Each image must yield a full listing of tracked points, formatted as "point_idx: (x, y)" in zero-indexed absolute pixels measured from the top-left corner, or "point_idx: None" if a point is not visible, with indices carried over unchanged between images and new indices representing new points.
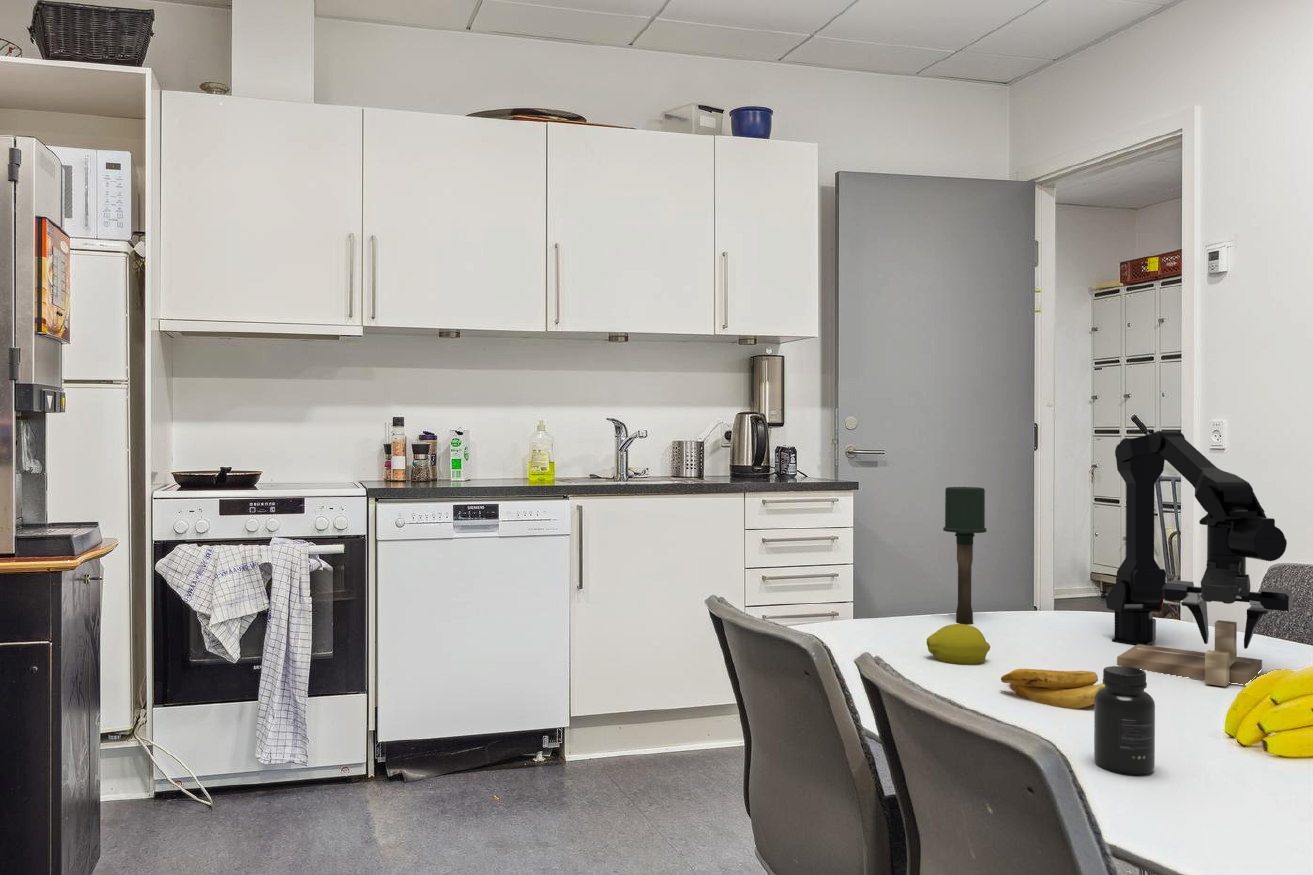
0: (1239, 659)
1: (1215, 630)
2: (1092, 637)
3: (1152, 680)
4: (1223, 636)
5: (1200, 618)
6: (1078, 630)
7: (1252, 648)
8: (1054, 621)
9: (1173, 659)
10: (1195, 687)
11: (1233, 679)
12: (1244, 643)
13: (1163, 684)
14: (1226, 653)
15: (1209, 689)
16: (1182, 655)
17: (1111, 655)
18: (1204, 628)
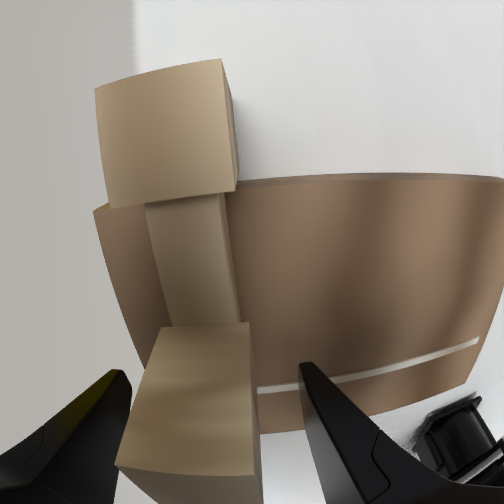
0: None
1: (245, 420)
2: (486, 406)
3: (398, 62)
4: (195, 394)
5: (375, 473)
6: (489, 419)
7: (267, 497)
8: (498, 427)
9: (401, 280)
10: (250, 43)
11: None
12: (108, 382)
13: (351, 22)
14: (110, 162)
15: (199, 50)
16: (377, 359)
17: (497, 318)
18: (327, 422)
